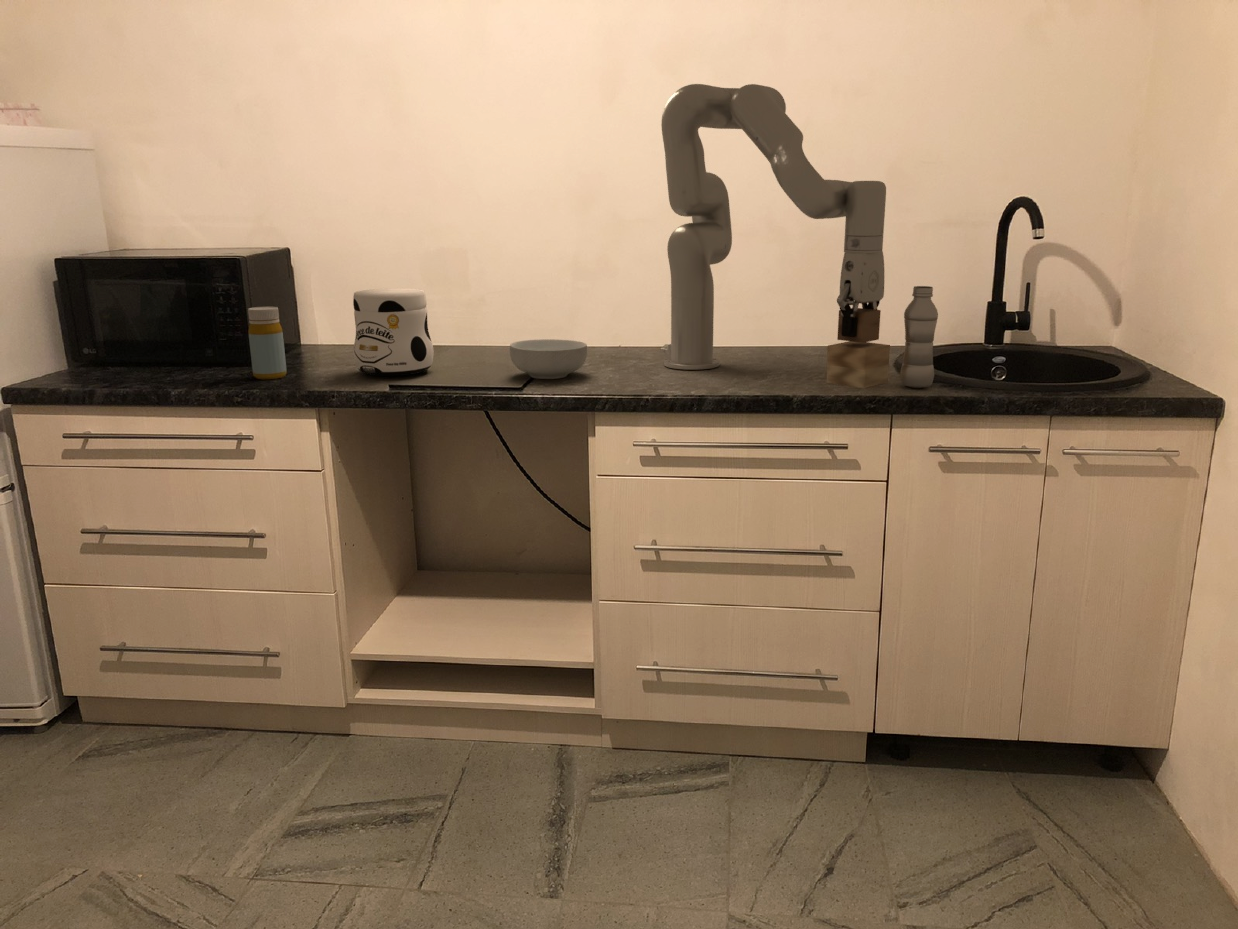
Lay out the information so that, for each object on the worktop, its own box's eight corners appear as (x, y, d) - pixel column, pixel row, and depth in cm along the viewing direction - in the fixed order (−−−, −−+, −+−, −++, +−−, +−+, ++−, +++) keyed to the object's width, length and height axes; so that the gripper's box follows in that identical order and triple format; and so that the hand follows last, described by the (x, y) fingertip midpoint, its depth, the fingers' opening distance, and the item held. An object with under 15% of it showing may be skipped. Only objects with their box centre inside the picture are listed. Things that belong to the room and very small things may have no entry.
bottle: (293, 374, 219) (286, 306, 215) (273, 380, 213) (265, 310, 209) (267, 373, 222) (260, 305, 218) (246, 378, 215) (238, 309, 211)
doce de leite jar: (351, 382, 211) (344, 296, 206) (359, 368, 227) (352, 288, 222) (433, 379, 213) (428, 294, 208) (435, 365, 230) (431, 287, 225)
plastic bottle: (916, 391, 195) (923, 289, 189) (892, 386, 200) (898, 286, 195) (940, 388, 197) (948, 287, 192) (916, 383, 203) (923, 284, 198)
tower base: (826, 383, 205) (827, 364, 204) (850, 377, 211) (851, 359, 210) (864, 389, 199) (865, 370, 198) (888, 383, 205) (889, 364, 204)
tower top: (826, 364, 204) (827, 345, 203) (851, 359, 210) (852, 340, 209) (864, 369, 198) (865, 350, 197) (888, 364, 204) (890, 344, 203)
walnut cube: (837, 339, 203) (838, 310, 201) (853, 336, 207) (854, 307, 205) (863, 342, 199) (864, 312, 197) (878, 339, 203) (880, 310, 201)
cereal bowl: (578, 384, 206) (577, 350, 204) (501, 382, 209) (499, 349, 207) (594, 370, 222) (594, 338, 220) (523, 368, 225) (521, 337, 223)
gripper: (856, 247, 189) (851, 341, 194) (902, 243, 201) (896, 331, 206) (823, 246, 194) (818, 337, 199) (869, 242, 206) (864, 328, 211)
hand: (858, 333), depth 202 cm, fingers closed on walnut cube, 6 cm apart
